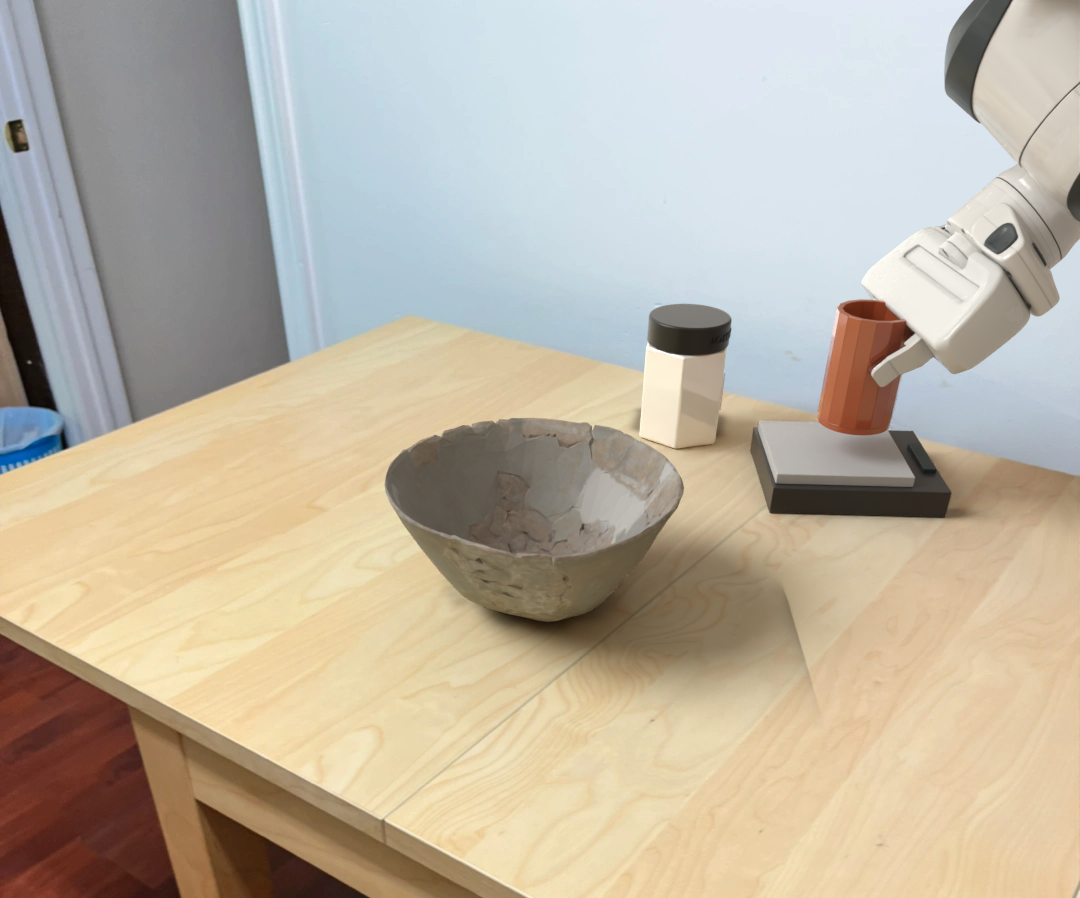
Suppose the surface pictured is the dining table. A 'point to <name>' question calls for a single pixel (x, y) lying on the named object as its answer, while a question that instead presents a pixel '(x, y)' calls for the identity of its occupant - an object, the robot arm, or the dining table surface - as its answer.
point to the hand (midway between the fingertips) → (858, 363)
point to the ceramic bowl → (534, 510)
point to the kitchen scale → (846, 472)
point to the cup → (860, 368)
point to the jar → (684, 374)
